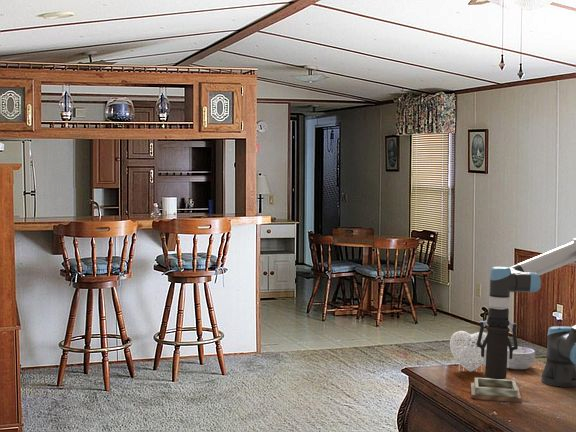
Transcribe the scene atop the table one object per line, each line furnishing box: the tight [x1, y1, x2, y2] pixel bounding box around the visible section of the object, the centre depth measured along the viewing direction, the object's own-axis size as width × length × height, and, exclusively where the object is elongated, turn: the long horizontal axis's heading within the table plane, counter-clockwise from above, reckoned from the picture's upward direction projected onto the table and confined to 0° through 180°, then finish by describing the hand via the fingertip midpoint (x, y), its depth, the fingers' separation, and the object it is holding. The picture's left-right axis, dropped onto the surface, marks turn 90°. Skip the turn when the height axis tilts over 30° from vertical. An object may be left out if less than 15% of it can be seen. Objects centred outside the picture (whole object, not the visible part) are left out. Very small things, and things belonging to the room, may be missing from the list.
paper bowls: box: [507, 346, 536, 370], centre depth 374 cm, size 15×15×8 cm
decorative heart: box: [449, 330, 488, 373], centre depth 364 cm, size 18×11×17 cm, turn 81°
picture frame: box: [470, 377, 522, 403], centre depth 329 cm, size 18×18×4 cm
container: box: [484, 325, 511, 380], centre depth 328 cm, size 9×9×20 cm
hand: (496, 366), depth 328 cm, fingers closed on container, 8 cm apart
